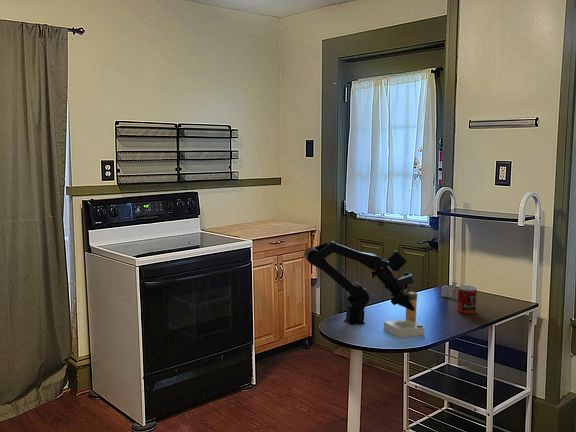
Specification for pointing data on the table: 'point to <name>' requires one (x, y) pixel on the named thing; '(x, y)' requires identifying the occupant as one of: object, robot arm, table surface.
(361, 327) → the table surface
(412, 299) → the plug
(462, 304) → the canned food
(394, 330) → the socket block
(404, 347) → the table surface
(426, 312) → the table surface
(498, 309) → the table surface
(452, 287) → the lighter
